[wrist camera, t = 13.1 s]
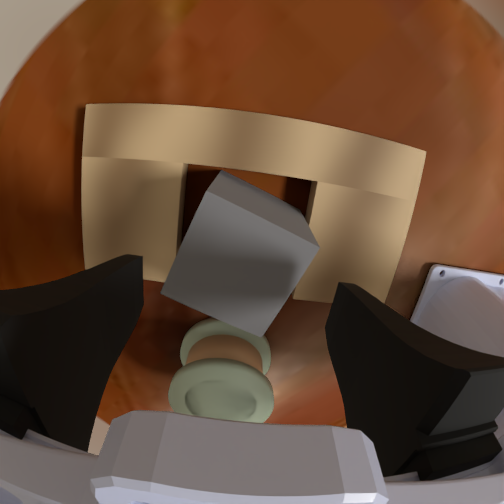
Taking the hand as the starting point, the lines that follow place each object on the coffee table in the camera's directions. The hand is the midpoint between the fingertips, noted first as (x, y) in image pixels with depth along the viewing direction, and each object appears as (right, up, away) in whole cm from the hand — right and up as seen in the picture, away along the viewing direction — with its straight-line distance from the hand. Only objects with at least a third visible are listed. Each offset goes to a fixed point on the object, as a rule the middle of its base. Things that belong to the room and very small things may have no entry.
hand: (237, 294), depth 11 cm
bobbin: (-1, -6, +11) cm, 12 cm away
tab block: (0, +3, +7) cm, 8 cm away
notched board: (0, +4, +7) cm, 8 cm away
